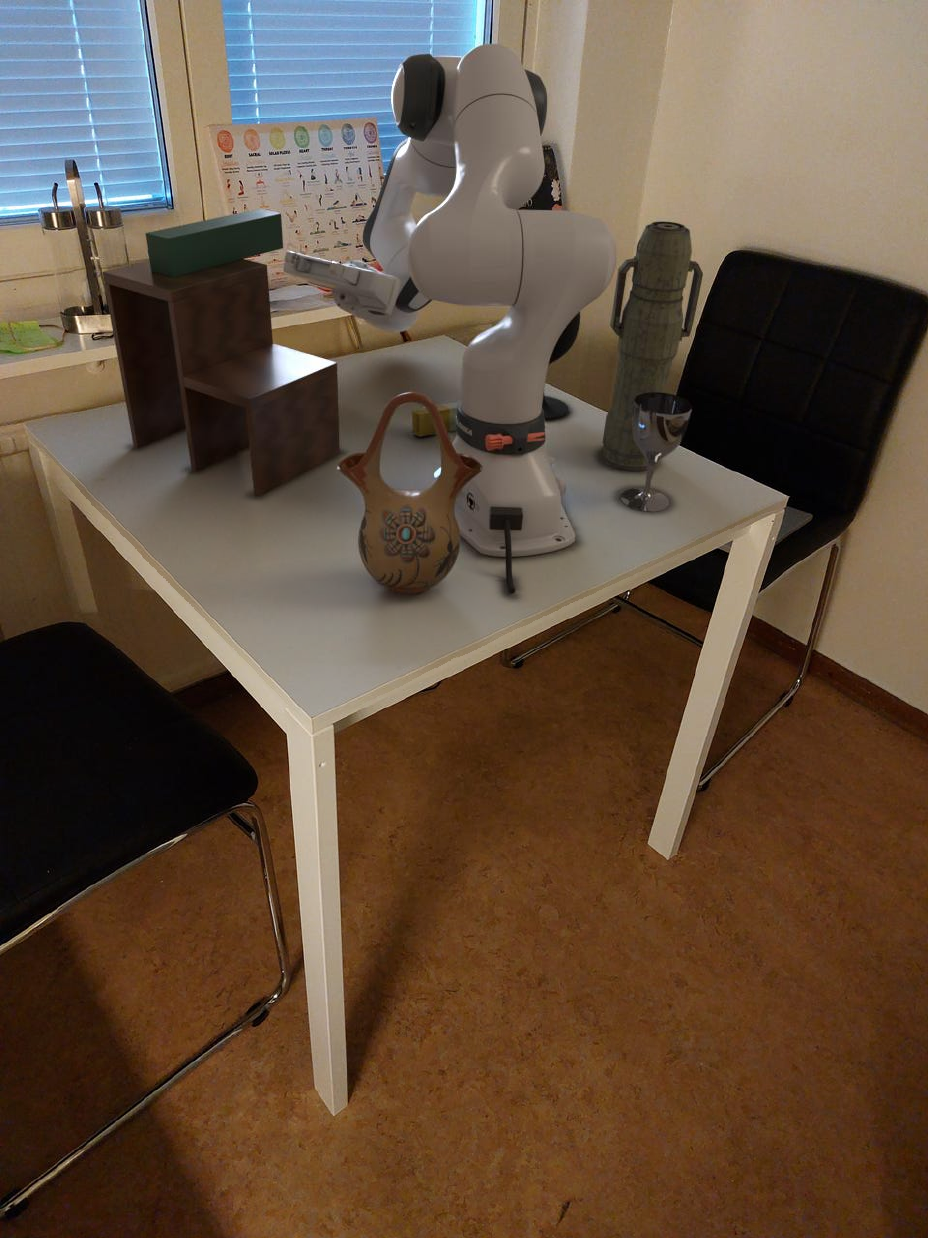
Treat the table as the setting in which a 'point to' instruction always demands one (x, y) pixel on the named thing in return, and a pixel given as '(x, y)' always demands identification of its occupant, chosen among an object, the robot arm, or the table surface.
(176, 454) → the table surface
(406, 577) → the ceramic vessel
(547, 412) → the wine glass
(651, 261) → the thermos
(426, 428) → the medication box
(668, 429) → the wine glass
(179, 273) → the carton
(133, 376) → the step shelf
